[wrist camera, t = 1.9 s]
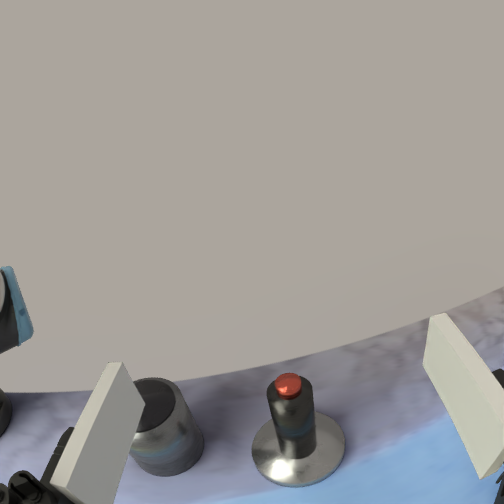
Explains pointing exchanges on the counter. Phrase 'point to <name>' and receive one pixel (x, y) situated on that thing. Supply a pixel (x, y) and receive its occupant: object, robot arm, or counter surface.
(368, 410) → the counter surface
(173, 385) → the pot
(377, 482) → the counter surface
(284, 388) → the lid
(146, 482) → the counter surface
